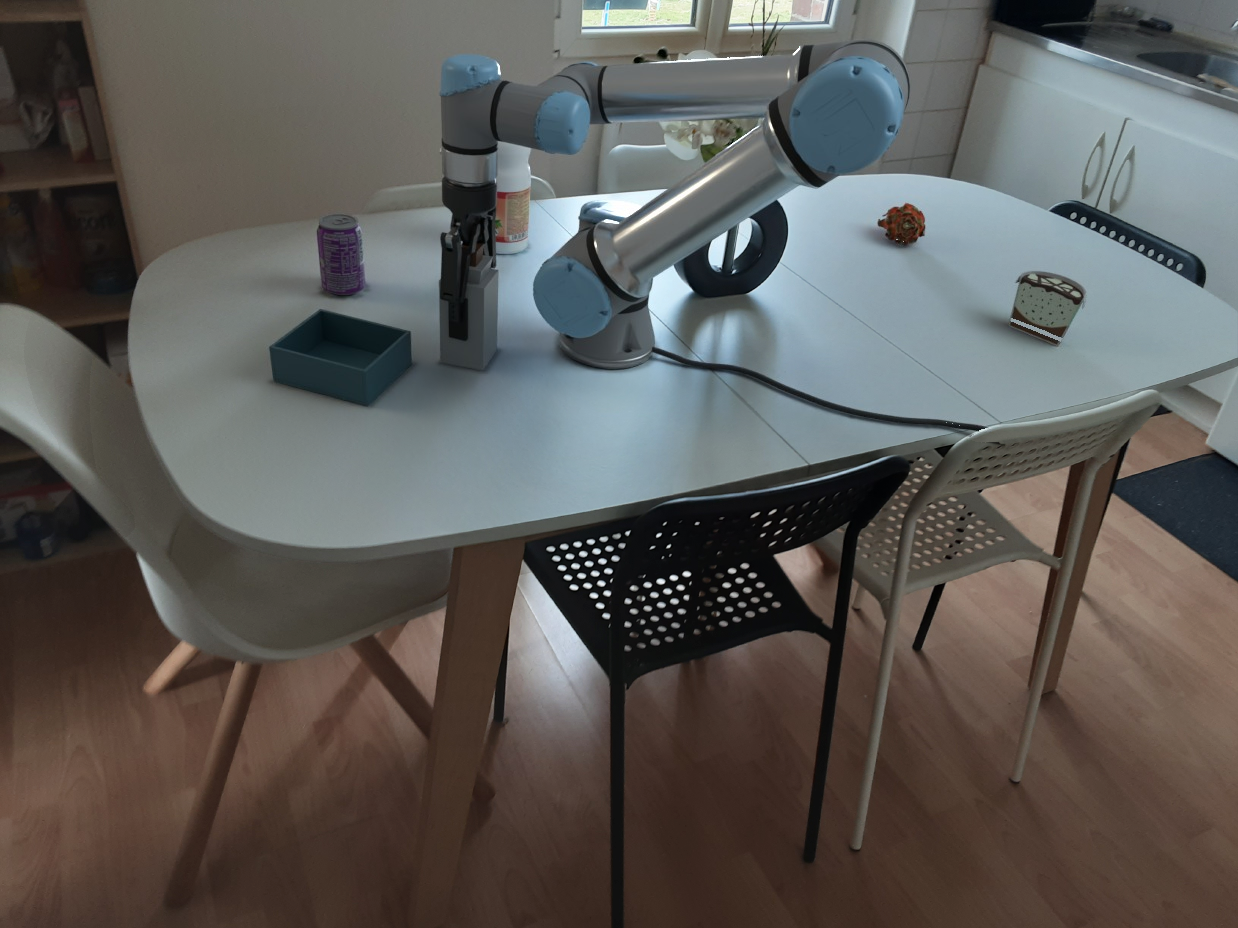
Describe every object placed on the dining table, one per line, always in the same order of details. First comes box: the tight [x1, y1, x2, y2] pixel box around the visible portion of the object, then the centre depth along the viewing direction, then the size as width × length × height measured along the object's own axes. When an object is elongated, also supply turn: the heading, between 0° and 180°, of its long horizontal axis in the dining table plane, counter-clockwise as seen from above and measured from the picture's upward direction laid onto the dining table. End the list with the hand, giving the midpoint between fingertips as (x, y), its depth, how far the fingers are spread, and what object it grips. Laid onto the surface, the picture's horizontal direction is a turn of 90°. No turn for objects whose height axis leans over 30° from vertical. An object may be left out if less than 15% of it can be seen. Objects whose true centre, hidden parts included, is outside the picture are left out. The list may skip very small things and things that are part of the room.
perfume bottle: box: [438, 242, 500, 372], centre depth 143 cm, size 7×7×18 cm
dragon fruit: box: [877, 202, 926, 246], centre depth 202 cm, size 8×8×12 cm
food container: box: [1007, 270, 1088, 347], centre depth 172 cm, size 12×6×10 cm, turn 47°
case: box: [268, 308, 413, 407], centre depth 140 cm, size 15×13×6 cm
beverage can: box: [316, 213, 366, 296], centre depth 159 cm, size 7×7×12 cm
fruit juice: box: [495, 141, 532, 255], centre depth 175 cm, size 9×9×28 cm
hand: (469, 327), depth 146 cm, fingers open, 7 cm apart
